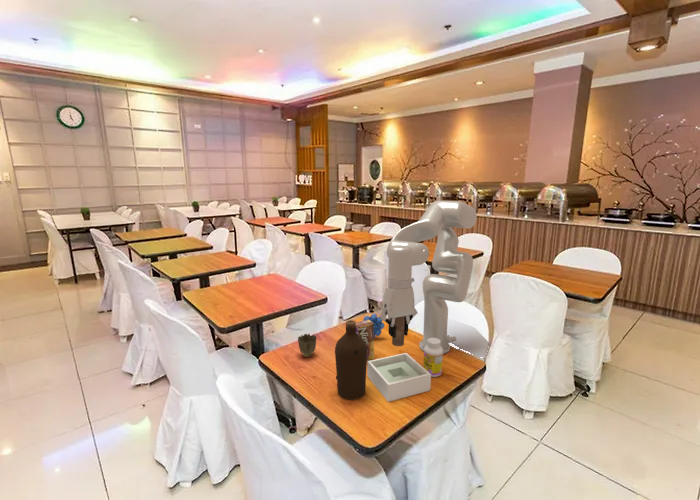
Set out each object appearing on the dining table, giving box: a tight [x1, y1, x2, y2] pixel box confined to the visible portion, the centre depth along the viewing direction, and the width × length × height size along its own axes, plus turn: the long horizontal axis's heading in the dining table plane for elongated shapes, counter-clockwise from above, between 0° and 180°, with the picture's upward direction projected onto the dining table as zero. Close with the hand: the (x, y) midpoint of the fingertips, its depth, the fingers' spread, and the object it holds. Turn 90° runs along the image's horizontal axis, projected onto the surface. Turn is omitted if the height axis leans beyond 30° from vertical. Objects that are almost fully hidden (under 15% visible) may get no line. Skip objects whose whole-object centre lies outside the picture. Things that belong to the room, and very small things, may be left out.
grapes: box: [362, 313, 385, 339], centre depth 158 cm, size 12×7×12 cm, turn 93°
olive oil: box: [334, 319, 367, 401], centre depth 118 cm, size 11×11×25 cm
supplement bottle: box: [422, 338, 444, 378], centre depth 130 cm, size 7×7×13 cm
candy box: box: [355, 320, 375, 361], centre depth 140 cm, size 9×4×15 cm, turn 116°
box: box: [366, 352, 432, 403], centre depth 124 cm, size 16×16×6 cm
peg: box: [391, 316, 405, 347], centre depth 120 cm, size 4×4×12 cm
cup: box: [297, 333, 317, 358], centre depth 144 cm, size 8×7×8 cm
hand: (398, 334), depth 121 cm, fingers closed on peg, 4 cm apart
